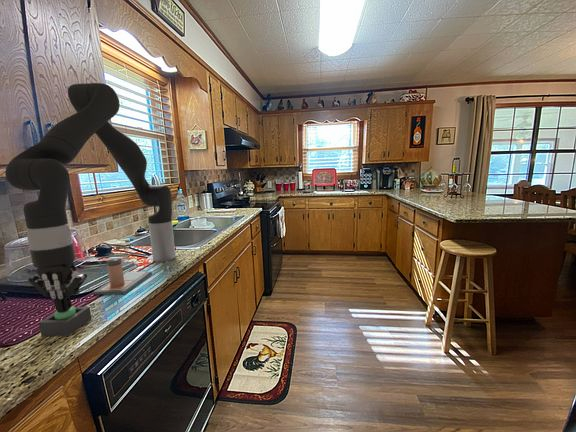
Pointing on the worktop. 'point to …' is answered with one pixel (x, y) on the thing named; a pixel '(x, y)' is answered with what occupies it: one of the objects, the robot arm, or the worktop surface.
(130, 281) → the picture board
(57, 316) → the button
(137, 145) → the robot arm
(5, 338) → the worktop surface
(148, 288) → the worktop surface
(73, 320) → the button housing
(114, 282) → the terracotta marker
